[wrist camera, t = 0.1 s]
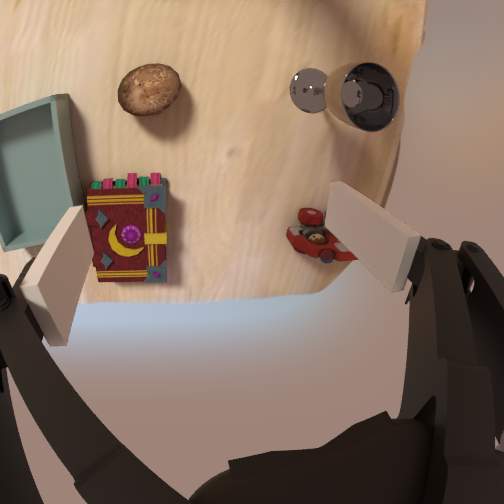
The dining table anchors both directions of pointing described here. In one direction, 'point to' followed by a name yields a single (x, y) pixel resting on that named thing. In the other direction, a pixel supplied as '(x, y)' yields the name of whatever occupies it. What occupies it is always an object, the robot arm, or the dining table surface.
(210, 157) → the dining table surface
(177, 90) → the mushroom
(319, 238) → the toy fire truck
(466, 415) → the robot arm
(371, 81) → the wine glass
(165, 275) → the decorative book
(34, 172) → the open rectangular box
